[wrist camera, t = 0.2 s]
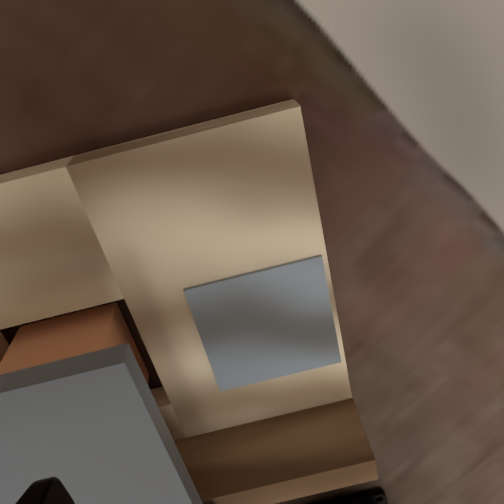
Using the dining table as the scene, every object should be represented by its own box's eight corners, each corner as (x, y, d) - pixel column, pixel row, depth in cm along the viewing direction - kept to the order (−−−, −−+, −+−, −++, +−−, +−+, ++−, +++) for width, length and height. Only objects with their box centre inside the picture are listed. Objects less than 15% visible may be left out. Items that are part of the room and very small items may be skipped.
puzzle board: (348, 400, 29) (379, 482, 24) (44, 473, 29) (13, 568, 24) (293, 98, 20) (323, 132, 15) (-140, 210, 20) (-245, 277, 16)
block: (149, 374, 26) (136, 469, 21) (62, 395, 26) (27, 495, 21) (116, 301, 24) (92, 388, 19) (20, 325, 24) (-30, 418, 19)
